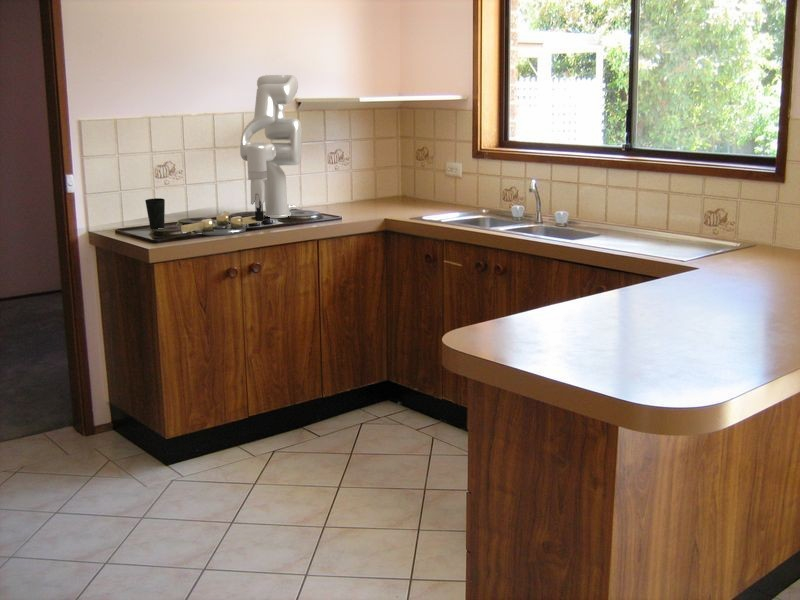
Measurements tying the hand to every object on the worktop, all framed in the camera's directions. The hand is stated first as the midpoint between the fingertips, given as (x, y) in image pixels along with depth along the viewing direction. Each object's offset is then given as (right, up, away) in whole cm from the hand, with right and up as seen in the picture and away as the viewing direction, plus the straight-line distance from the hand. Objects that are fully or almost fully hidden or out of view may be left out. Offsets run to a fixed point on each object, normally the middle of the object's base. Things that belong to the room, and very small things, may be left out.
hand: (259, 220), depth 367 cm
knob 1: (-16, 0, +7) cm, 17 cm away
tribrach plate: (-15, -4, -3) cm, 16 cm away
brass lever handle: (-5, -2, 0) cm, 6 cm away
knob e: (-23, -5, -11) cm, 26 cm away
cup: (-42, -3, +3) cm, 43 cm away
